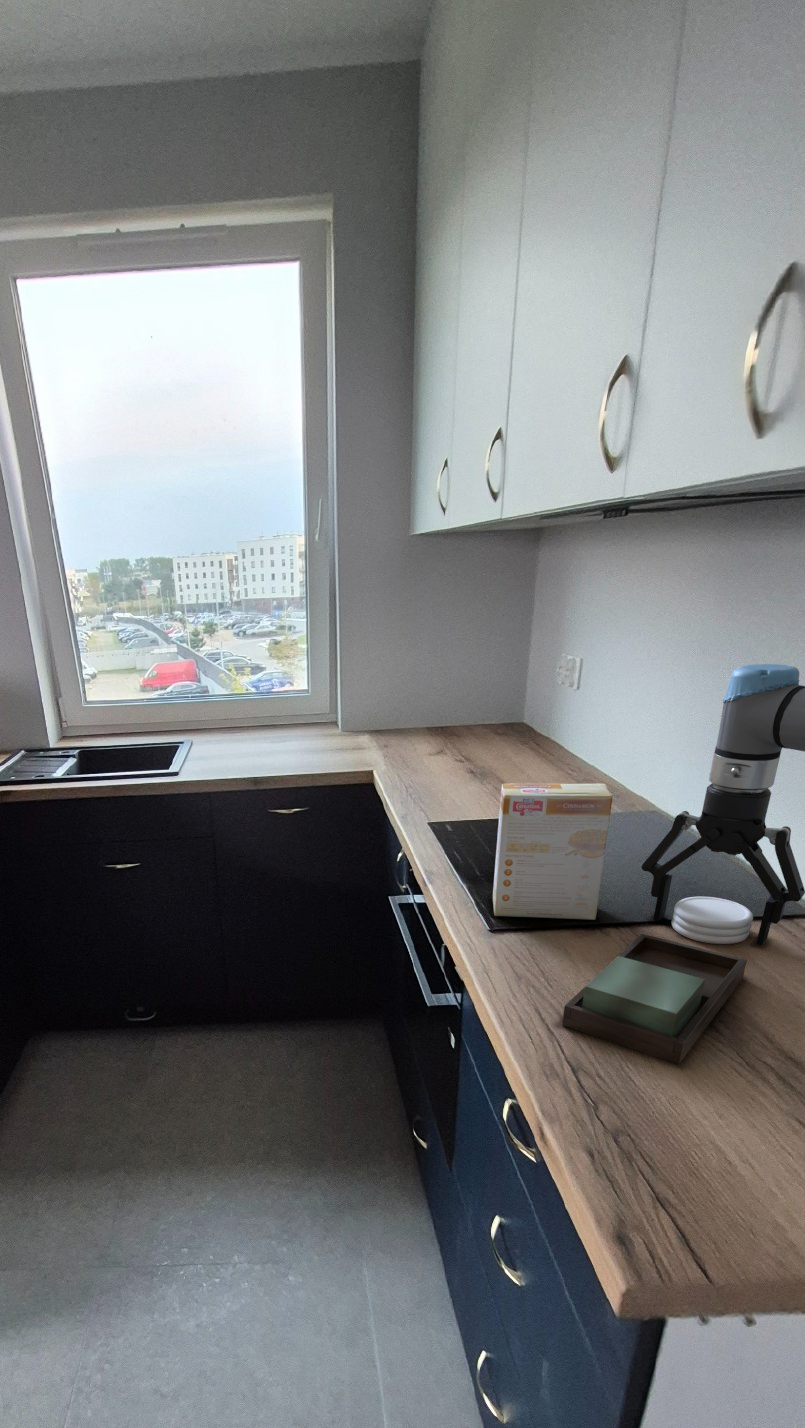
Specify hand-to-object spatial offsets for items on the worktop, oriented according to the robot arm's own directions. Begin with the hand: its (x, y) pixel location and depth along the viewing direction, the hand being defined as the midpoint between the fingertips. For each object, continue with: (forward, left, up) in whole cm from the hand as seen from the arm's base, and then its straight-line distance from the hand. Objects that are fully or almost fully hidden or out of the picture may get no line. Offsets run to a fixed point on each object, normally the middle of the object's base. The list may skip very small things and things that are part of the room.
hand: (708, 929), depth 116 cm
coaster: (0, 0, 0) cm, 0 cm away
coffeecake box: (+22, +7, 0) cm, 23 cm away
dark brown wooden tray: (-1, +25, 0) cm, 25 cm away
